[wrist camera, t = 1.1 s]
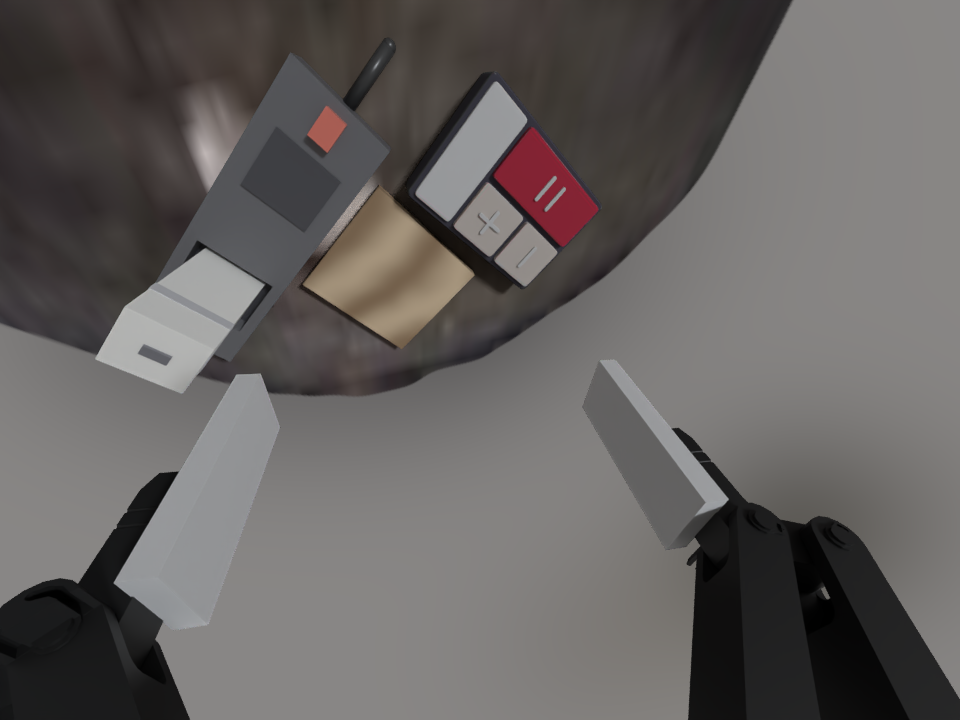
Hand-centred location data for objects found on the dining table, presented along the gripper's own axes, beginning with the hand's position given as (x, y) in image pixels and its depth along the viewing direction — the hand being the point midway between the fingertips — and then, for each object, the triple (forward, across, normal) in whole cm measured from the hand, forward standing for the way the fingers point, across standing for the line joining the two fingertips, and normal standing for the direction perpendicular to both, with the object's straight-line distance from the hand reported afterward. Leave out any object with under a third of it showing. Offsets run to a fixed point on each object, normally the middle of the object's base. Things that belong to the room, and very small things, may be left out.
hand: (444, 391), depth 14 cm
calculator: (+25, +8, +3) cm, 27 cm away
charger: (+24, -18, -6) cm, 30 cm away
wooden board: (+24, -3, -6) cm, 25 cm away
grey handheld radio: (+25, -12, +1) cm, 27 cm away
